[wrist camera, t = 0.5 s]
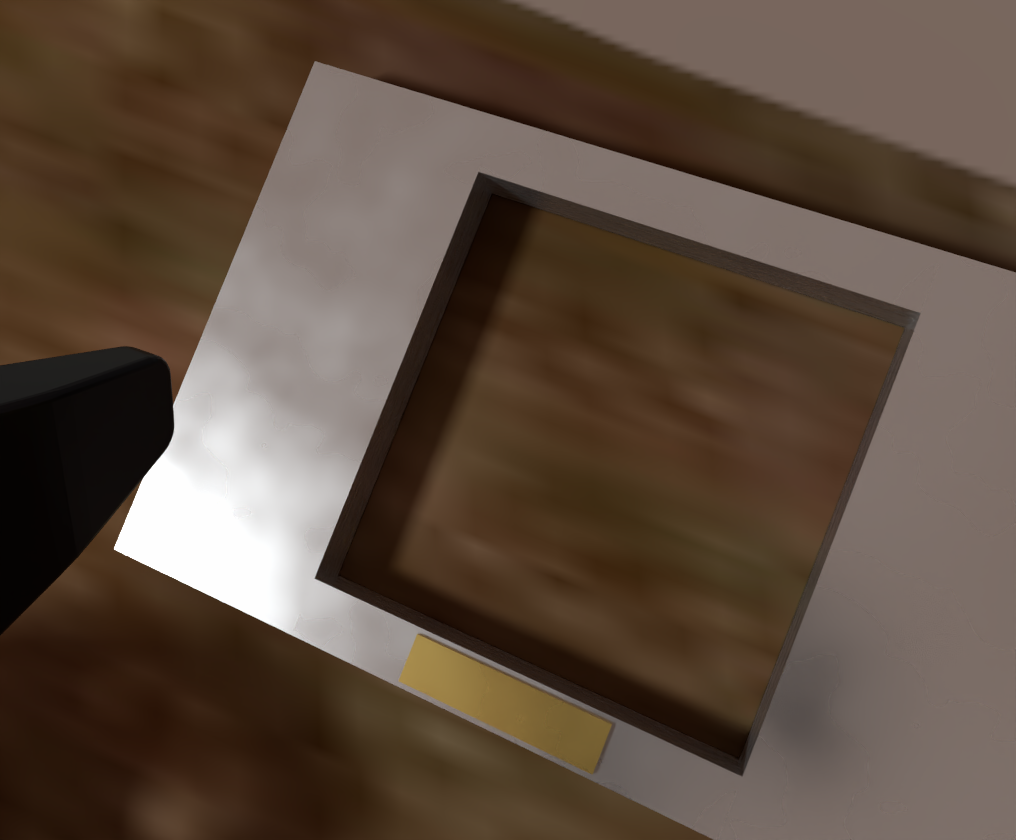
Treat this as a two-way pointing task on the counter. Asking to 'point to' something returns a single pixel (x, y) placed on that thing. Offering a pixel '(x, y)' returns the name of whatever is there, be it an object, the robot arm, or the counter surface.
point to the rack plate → (521, 685)
